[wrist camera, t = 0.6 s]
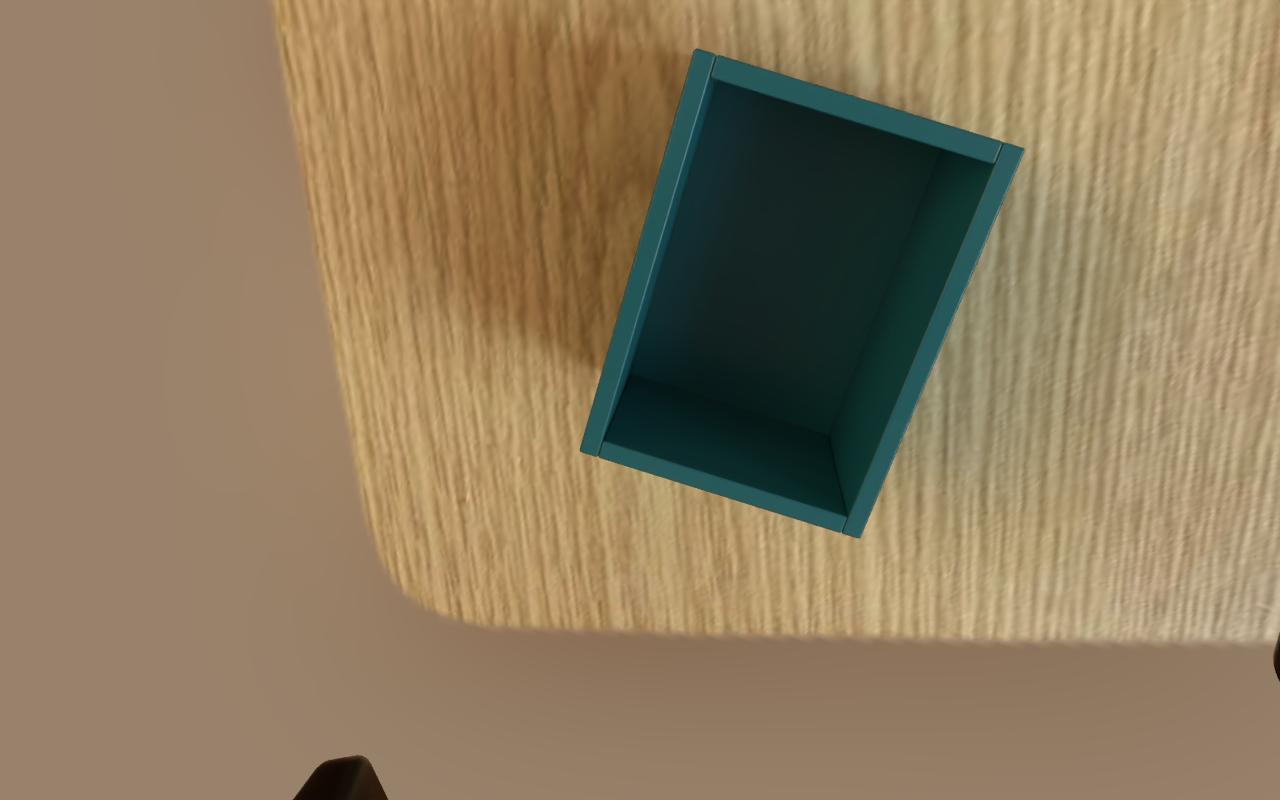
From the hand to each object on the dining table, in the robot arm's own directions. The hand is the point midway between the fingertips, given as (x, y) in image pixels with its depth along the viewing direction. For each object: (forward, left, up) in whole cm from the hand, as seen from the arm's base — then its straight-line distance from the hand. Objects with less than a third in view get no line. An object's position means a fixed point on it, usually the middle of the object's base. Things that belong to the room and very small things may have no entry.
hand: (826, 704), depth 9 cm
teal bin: (+1, -2, -14) cm, 14 cm away
